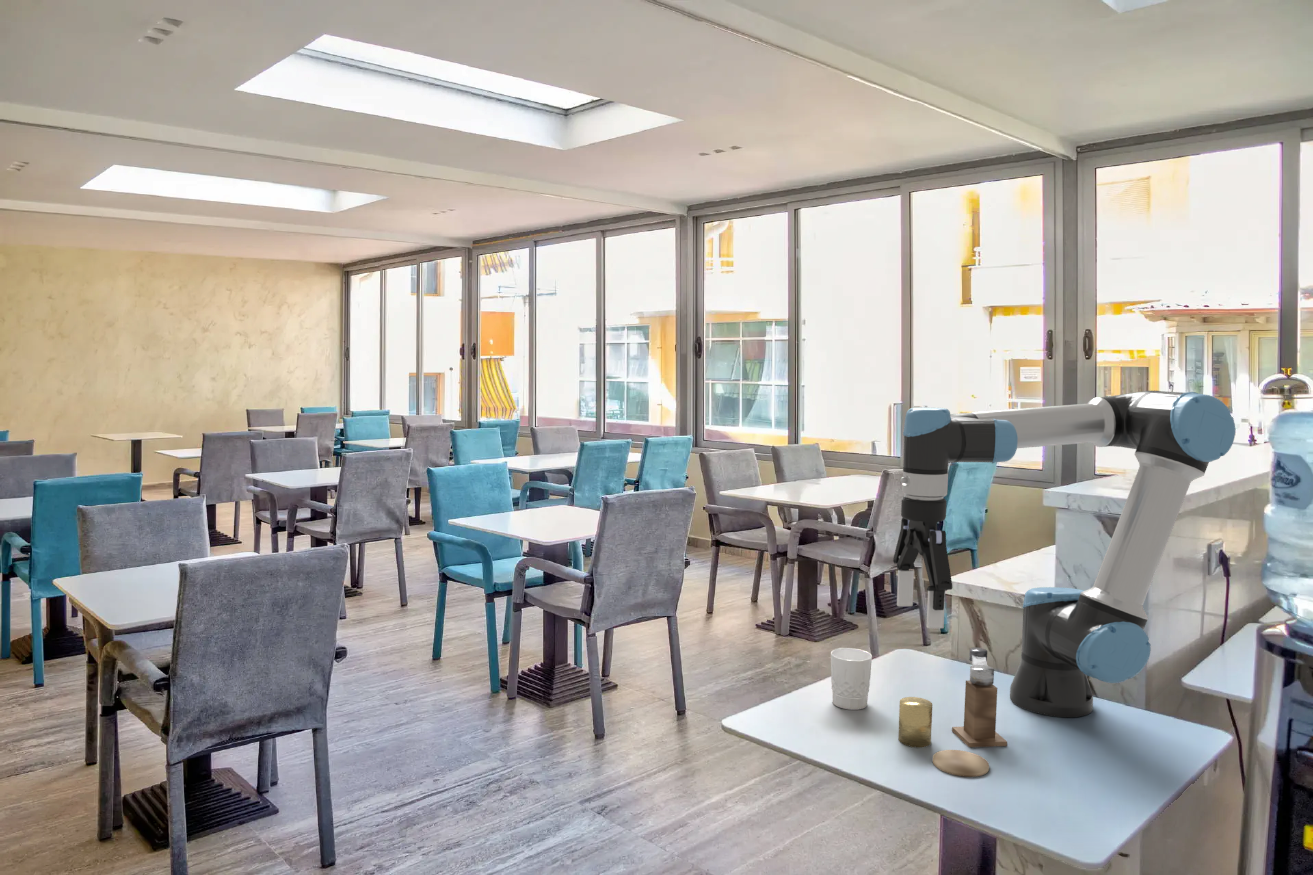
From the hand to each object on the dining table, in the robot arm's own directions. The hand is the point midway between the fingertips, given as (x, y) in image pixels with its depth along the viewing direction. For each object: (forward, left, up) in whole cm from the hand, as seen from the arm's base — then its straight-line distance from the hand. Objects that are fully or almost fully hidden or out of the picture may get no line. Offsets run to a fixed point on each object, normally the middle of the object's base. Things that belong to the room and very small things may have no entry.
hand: (919, 616), depth 163 cm
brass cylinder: (0, 0, -23) cm, 23 cm away
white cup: (+6, -18, -23) cm, 30 cm away
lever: (-14, -5, -12) cm, 19 cm away
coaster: (-4, +10, -23) cm, 25 cm away
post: (-12, 0, -23) cm, 26 cm away
